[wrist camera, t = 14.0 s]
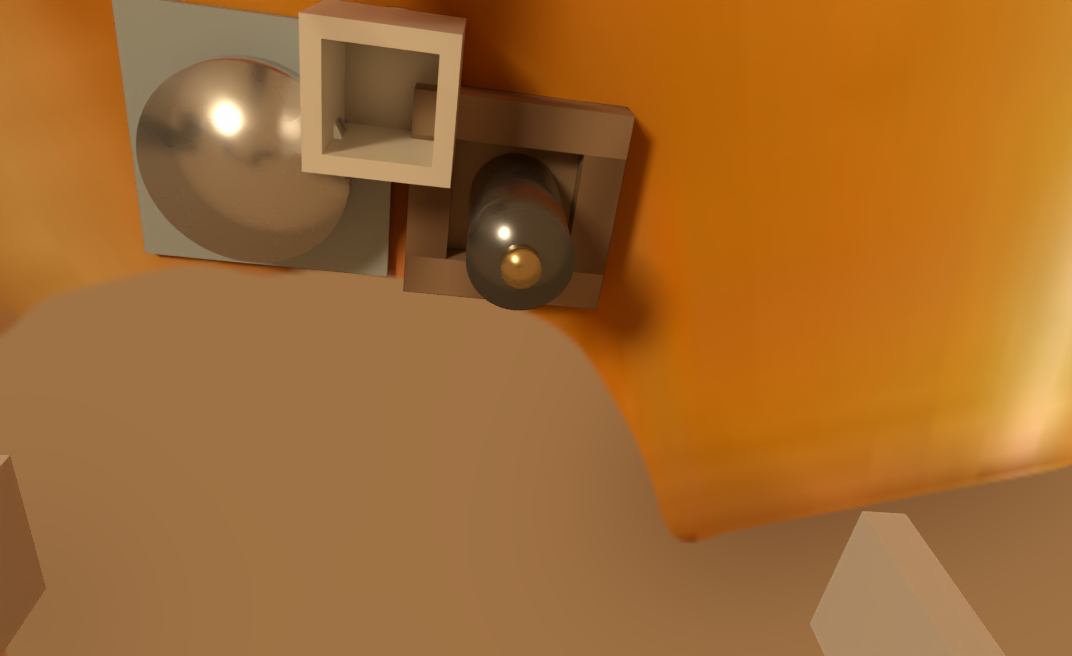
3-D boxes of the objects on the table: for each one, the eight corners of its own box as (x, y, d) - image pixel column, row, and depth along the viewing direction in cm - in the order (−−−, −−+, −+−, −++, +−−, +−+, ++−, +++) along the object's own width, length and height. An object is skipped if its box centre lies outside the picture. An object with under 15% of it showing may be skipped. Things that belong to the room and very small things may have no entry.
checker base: (149, 249, 37) (145, 253, 36) (116, -8, 31) (111, -7, 31) (388, 272, 38) (386, 276, 38) (398, 31, 33) (396, 32, 32)
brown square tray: (407, 274, 38) (403, 291, 37) (417, 80, 34) (414, 88, 32) (592, 292, 40) (596, 309, 38) (627, 107, 35) (635, 117, 33)
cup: (329, 134, 35) (301, 171, 29) (329, -3, 32) (298, 12, 26) (455, 148, 35) (450, 188, 30) (466, 16, 32) (462, 34, 27)
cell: (467, 233, 37) (461, 314, 29) (474, 148, 35) (469, 212, 27) (552, 241, 37) (568, 323, 30) (564, 157, 35) (585, 223, 28)
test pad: (161, 240, 35) (149, 252, 33) (137, 40, 30) (121, 46, 29) (353, 259, 36) (348, 271, 34) (356, 69, 31) (350, 75, 30)
